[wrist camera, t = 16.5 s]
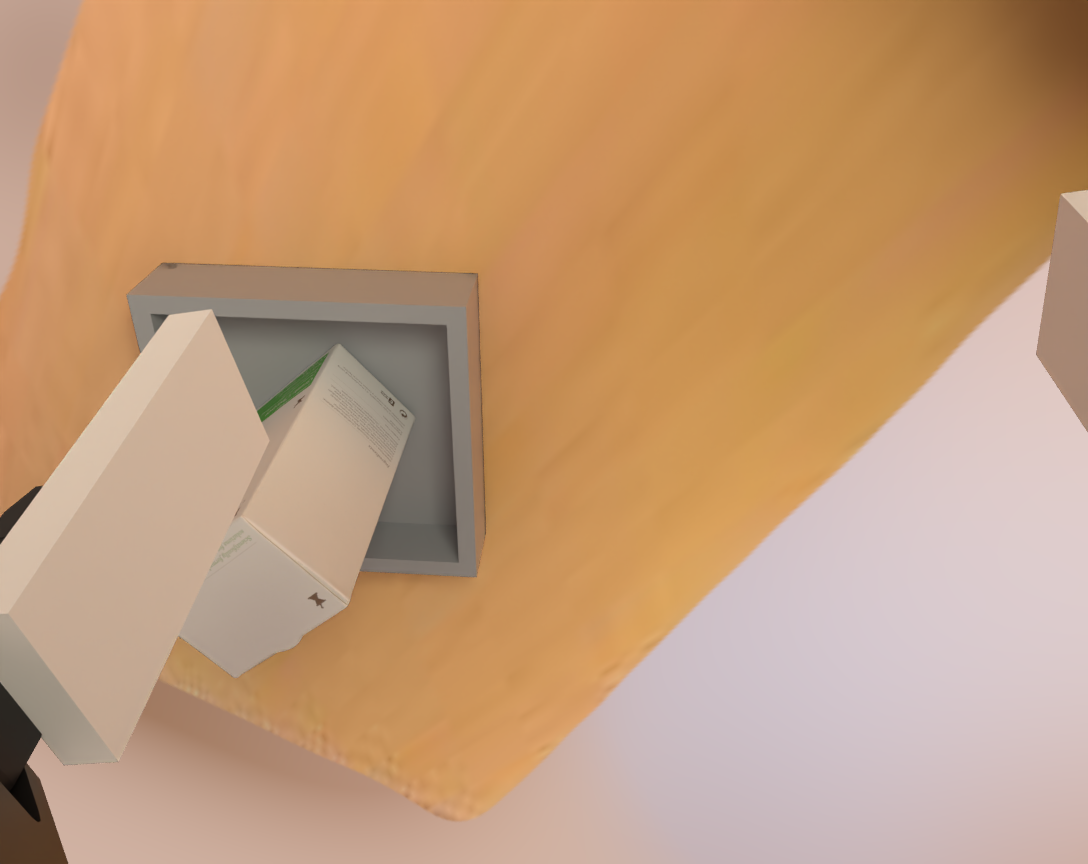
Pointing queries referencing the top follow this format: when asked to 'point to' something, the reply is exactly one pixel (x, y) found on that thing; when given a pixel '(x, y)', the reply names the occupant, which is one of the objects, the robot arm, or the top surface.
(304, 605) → the skincare box
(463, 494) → the tray
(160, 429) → the robot arm
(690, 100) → the top surface
